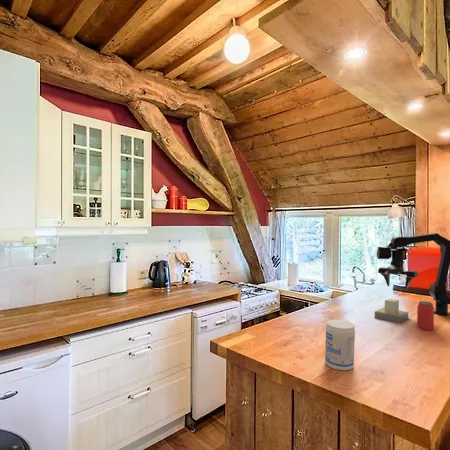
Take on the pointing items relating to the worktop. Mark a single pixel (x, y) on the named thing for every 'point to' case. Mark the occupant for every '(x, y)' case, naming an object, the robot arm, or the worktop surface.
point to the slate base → (391, 315)
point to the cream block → (391, 305)
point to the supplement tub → (340, 344)
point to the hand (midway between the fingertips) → (397, 287)
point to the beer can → (425, 316)
